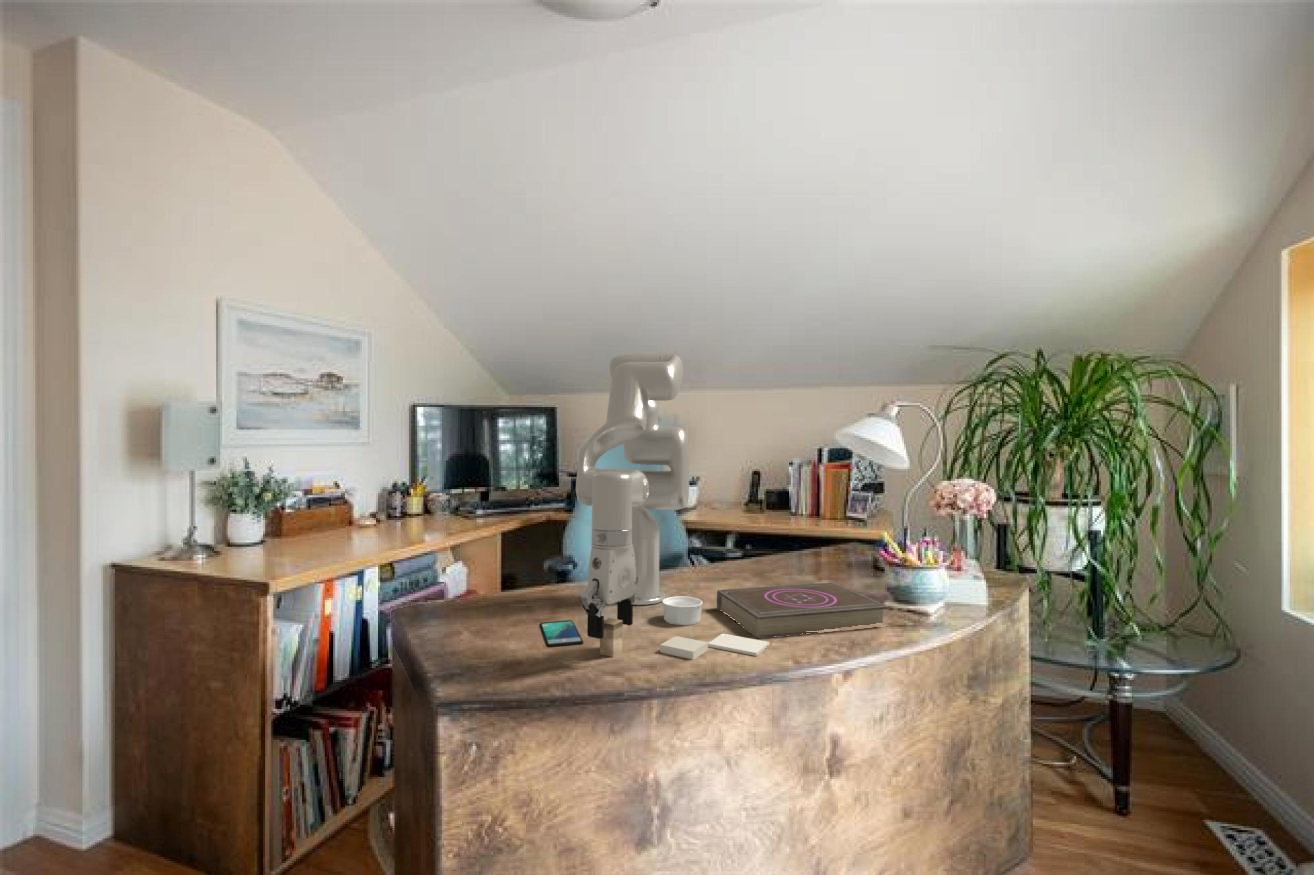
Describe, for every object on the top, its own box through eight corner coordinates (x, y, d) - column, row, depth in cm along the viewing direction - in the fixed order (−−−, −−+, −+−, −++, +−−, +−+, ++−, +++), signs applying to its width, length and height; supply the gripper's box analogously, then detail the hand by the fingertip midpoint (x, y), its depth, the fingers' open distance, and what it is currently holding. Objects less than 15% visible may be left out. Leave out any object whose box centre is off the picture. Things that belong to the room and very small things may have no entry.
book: (757, 641, 127) (757, 616, 127) (716, 610, 148) (716, 589, 148) (888, 629, 136) (888, 605, 136) (831, 601, 157) (831, 581, 157)
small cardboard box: (599, 654, 118) (599, 622, 118) (608, 649, 120) (609, 617, 120) (613, 657, 116) (613, 624, 116) (622, 652, 119) (622, 620, 119)
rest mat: (707, 646, 122) (707, 643, 122) (722, 636, 128) (722, 633, 128) (756, 656, 117) (756, 652, 117) (769, 645, 123) (769, 641, 123)
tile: (660, 644, 119) (693, 651, 115) (675, 635, 124) (707, 642, 121) (660, 654, 119) (693, 661, 115) (675, 645, 124) (707, 651, 121)
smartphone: (547, 645, 121) (539, 622, 135) (547, 649, 121) (539, 625, 135) (584, 642, 123) (572, 619, 137) (584, 646, 123) (572, 623, 137)
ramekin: (660, 615, 143) (660, 595, 143) (699, 614, 144) (699, 595, 144) (664, 627, 134) (664, 607, 134) (705, 626, 135) (705, 606, 135)
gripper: (601, 546, 108) (600, 646, 108) (652, 534, 124) (651, 622, 123) (566, 542, 112) (565, 639, 112) (620, 531, 127) (619, 616, 127)
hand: (610, 630), depth 118 cm, fingers open, 9 cm apart
